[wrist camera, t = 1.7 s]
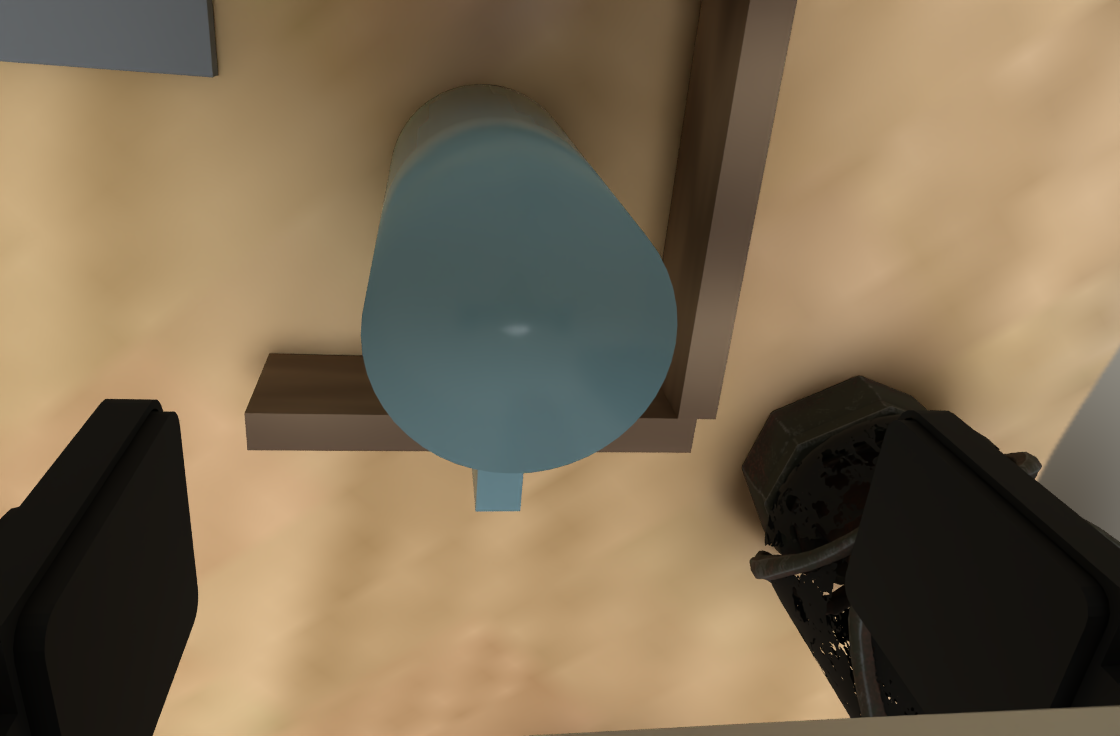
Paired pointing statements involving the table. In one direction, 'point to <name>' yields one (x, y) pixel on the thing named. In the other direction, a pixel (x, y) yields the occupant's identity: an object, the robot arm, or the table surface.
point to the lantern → (831, 528)
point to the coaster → (111, 35)
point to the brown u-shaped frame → (689, 256)
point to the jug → (510, 295)
